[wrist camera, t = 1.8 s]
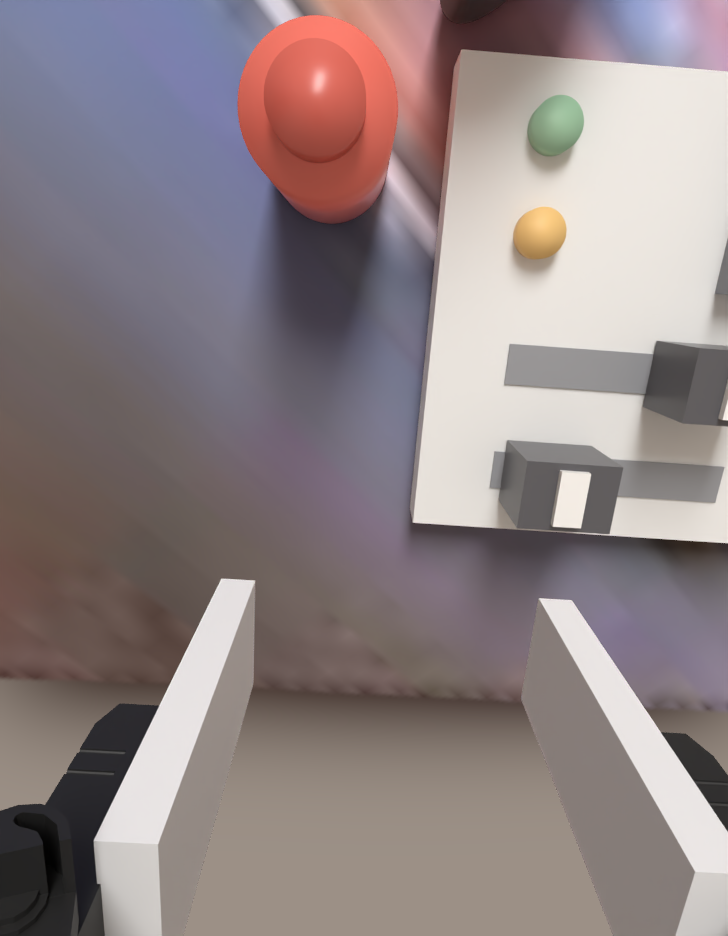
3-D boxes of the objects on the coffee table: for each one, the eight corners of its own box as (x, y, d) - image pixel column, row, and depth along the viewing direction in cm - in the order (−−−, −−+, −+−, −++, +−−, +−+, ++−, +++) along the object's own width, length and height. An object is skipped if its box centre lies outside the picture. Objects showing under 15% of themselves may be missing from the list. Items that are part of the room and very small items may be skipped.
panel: (409, 508, 31) (415, 534, 27) (454, 67, 25) (468, 33, 22) (821, 535, 31) (876, 564, 28) (959, 109, 25) (1049, 82, 22)
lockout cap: (273, 219, 27) (228, 184, 18) (275, 93, 25) (229, -12, 16) (382, 227, 27) (392, 197, 18) (392, 103, 25) (407, 4, 16)
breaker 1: (498, 500, 28) (518, 531, 25) (507, 440, 27) (529, 462, 24) (580, 505, 28) (612, 537, 25) (591, 445, 28) (626, 469, 24)
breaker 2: (642, 406, 27) (686, 425, 23) (656, 340, 26) (704, 348, 22) (727, 412, 27) (784, 432, 23) (744, 347, 26) (806, 356, 23)
